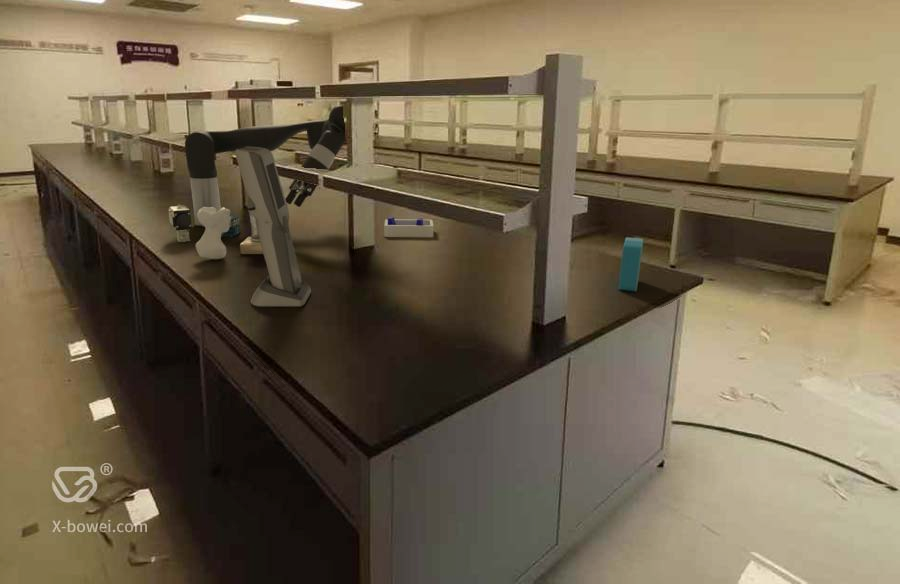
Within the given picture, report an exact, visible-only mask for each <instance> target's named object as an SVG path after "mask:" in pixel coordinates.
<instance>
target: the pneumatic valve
mask: <svg viewBox="0 0 900 584" xmlns="http://www.w3.org/2000/svg"><path fill="white" fill-rule="evenodd" d="M168 220H169V223H170V225H171V226H172V227H173V228H174V229H175V233H176V236H177V237H176V241H178V243H179V242H181V243H186V242H187V241H188V243H190V242H191V239H190V232H189V230H193V225H192V217H191V210H190V209H189V208H188V207H187V205H181V204H177V205H174V206H169V208H168ZM189 241H190V242H189Z"/></svg>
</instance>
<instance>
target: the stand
mask: <svg viewBox="0 0 900 584" xmlns="http://www.w3.org/2000/svg"><path fill="white" fill-rule="evenodd" d="M251 237H252V236H247V238H246V239H244V240H243V241H242V242H241V243H240V244H239V249H240V254H241V255H264V254H263V250H262V247H261V243H260V242H252V241H251Z"/></svg>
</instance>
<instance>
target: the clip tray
mask: <svg viewBox="0 0 900 584" xmlns="http://www.w3.org/2000/svg"><path fill="white" fill-rule="evenodd" d="M394 220H395V223H396V225H388V218H386V219H385V220H384V227H383V229H384V230H383V231H384V238H434V222H433V219H423V225H416V223H417V219H405V218H404V219H403V218H402V219H401V218H400V219H399V218H398V219H396V218H394Z"/></svg>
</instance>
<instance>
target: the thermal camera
mask: <svg viewBox="0 0 900 584" xmlns="http://www.w3.org/2000/svg"><path fill="white" fill-rule="evenodd" d="M234 155H235V159H236V161H237V164H238V168H239V171H240V175H241V178H242V182H243V186H244V189H245V191H246V194H247V207H246V208H247V209H248V214H249V216H250V215H251V216H254V217H255V219H256V225H257V230H258V234H259V238H260V243H261V247H262V250H263V254H262V255H263V257H264V261H265V264H266V268H267V271H268V275H267V276H266V278H264V280H263V281H262V282H261V283H260V284H259V286H258V287H257V288H256V290H255V291H254V293H253V294H252V297H251V300H250V303H251V305H252V306H253V307H258V308H267V307H268V308H301V307H303V306H305V304H306V302H307V300H308V299H309V297H310V295H311V292H312V290H311V287H310V285H309V284H308V283H307V282H305V281H302V277H301V272H300V267H299V263H298V260H297V256H296V252H295V251H296V250H295V247H294V244H293V239H292V238H293V237H292V236H291V235H292V233H291V231H290V226H289V225H290V223H289V222H290V211H289V206H288V203H286V199H285V198H286V196H285V192H284V189H283V187H282V182H281V179H280V176H279V172H278V169H277V165H276V162H275V158H274V154H273V153H272V151H270V150H268V149H266V148H259V147H248V146H246V147H244V148H241V149H236V151H235V152H234Z"/></svg>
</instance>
